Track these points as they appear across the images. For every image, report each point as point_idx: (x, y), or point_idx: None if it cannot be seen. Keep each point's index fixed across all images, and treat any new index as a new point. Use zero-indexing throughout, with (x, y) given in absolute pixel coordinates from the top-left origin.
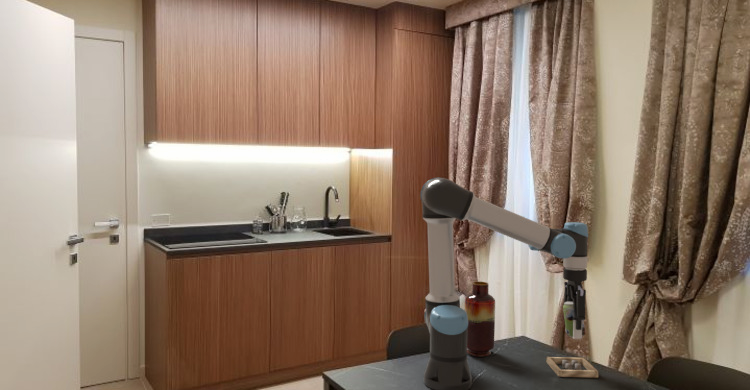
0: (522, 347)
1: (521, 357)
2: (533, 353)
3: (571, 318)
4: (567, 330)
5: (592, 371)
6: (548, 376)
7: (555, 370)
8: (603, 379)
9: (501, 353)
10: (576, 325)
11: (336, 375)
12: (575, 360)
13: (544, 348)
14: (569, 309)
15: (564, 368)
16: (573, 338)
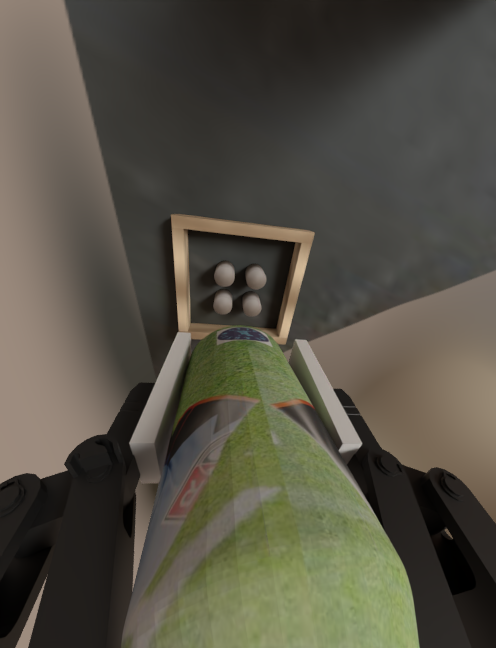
0: (471, 201)
1: (383, 139)
2: (399, 219)
3: (178, 435)
4: (231, 339)
5: (178, 323)
6: (174, 170)
7: (210, 218)
8: (171, 335)
9: (473, 31)
10: (140, 406)
11: None
12: (255, 312)
13: (420, 280)
14: (149, 581)
15: (247, 267)
16: (181, 333)
